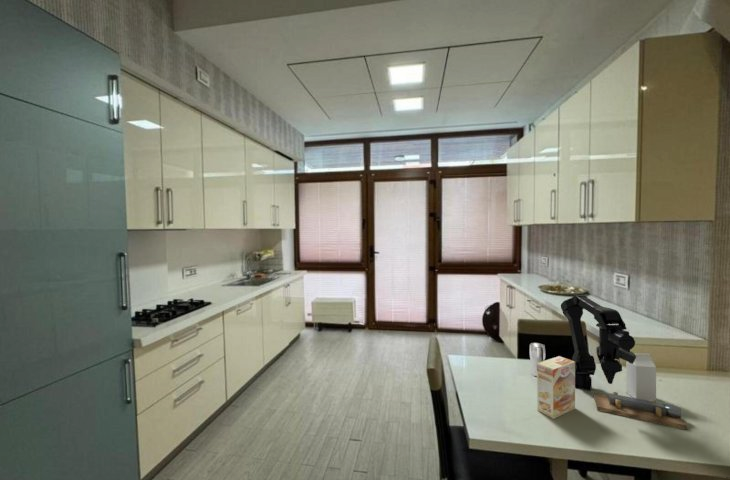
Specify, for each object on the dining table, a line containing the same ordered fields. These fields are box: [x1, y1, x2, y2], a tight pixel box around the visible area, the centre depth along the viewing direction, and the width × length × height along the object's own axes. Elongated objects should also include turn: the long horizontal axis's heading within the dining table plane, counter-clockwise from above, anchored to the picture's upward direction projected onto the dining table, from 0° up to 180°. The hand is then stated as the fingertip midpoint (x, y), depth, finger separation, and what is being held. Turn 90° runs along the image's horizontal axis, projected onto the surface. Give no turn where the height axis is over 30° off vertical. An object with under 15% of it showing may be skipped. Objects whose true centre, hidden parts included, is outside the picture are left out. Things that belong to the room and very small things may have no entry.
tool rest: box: [593, 391, 688, 431], centre depth 124 cm, size 26×12×4 cm, turn 59°
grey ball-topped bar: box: [607, 392, 682, 419], centre depth 123 cm, size 21×5×3 cm, turn 59°
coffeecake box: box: [536, 355, 576, 420], centre depth 127 cm, size 15×7×20 cm, turn 117°
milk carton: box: [625, 352, 657, 401], centre depth 134 cm, size 7×7×19 cm
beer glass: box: [529, 342, 546, 378], centre depth 158 cm, size 7×7×15 cm
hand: (608, 378), depth 127 cm, fingers open, 9 cm apart
